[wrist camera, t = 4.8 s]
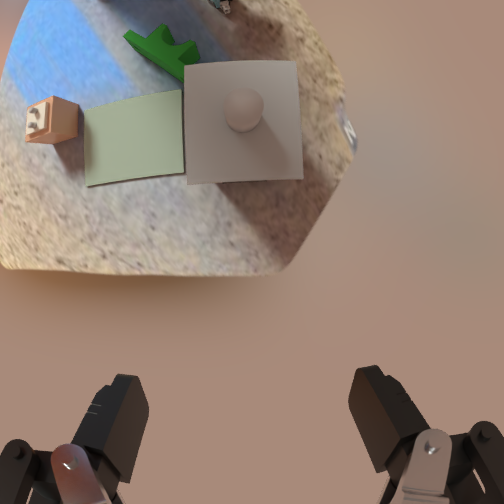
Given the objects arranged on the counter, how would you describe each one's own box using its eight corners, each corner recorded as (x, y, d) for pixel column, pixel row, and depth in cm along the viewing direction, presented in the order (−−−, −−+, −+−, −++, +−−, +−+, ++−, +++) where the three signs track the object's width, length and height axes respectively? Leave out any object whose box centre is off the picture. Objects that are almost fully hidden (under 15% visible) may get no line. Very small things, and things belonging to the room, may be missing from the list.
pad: (85, 110, 26) (84, 110, 26) (181, 89, 26) (181, 89, 26) (86, 186, 29) (85, 186, 28) (184, 172, 29) (183, 172, 29)
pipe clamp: (218, 71, 26) (216, 56, 22) (196, 93, 27) (190, 80, 22) (155, 30, 24) (145, 13, 19) (134, 50, 24) (122, 35, 20)
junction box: (205, 108, 27) (175, 47, 12) (273, 105, 27) (305, 43, 12) (208, 183, 29) (177, 189, 14) (277, 179, 30) (315, 182, 14)
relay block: (53, 113, 25) (19, 105, 18) (78, 104, 26) (45, 92, 18) (52, 144, 27) (17, 141, 19) (77, 136, 27) (42, 130, 19)
